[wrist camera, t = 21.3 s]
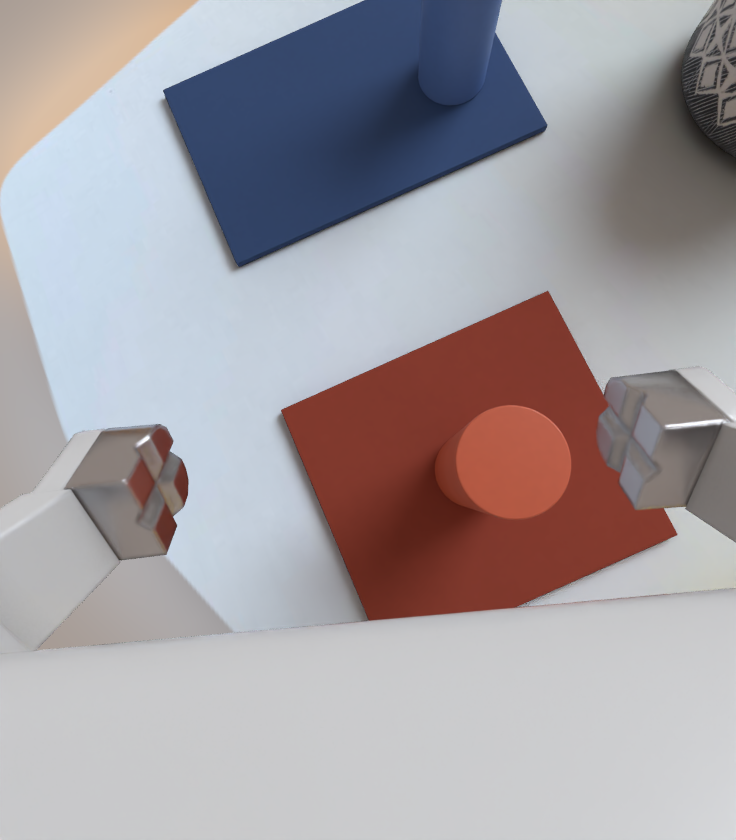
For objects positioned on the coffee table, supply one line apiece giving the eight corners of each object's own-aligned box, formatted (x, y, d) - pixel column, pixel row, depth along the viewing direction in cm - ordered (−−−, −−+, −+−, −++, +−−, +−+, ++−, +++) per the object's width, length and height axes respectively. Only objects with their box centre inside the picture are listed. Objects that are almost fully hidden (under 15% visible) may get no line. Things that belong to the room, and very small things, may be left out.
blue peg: (435, 116, 31) (453, -54, 21) (407, 63, 32) (412, -126, 22) (496, 89, 31) (542, -93, 21) (467, 36, 32) (498, -164, 22)
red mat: (387, 661, 27) (387, 664, 27) (282, 411, 30) (280, 409, 29) (673, 533, 27) (678, 534, 27) (545, 293, 30) (548, 290, 29)
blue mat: (238, 267, 31) (236, 264, 31) (166, 95, 33) (162, 89, 33) (545, 130, 31) (547, 125, 31) (453, -33, 33) (454, -41, 33)
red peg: (454, 519, 28) (485, 539, 18) (422, 450, 28) (436, 432, 19) (523, 488, 28) (592, 491, 18) (489, 420, 28) (539, 386, 19)
